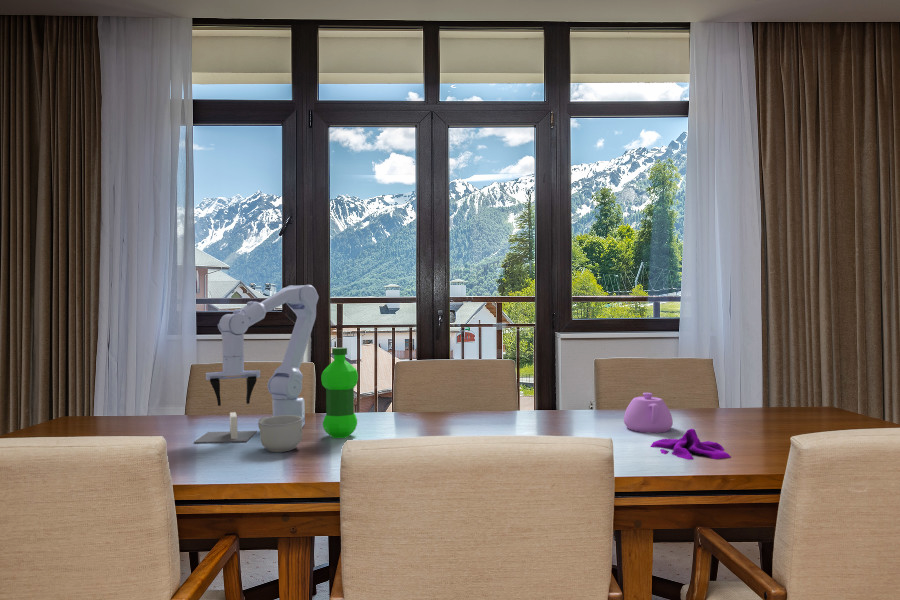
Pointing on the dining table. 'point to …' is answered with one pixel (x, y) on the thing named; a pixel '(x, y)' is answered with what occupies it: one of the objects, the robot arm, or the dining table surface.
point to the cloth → (691, 447)
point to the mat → (225, 437)
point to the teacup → (280, 432)
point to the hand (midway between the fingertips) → (233, 404)
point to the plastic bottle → (339, 395)
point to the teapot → (648, 414)
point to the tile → (233, 425)
